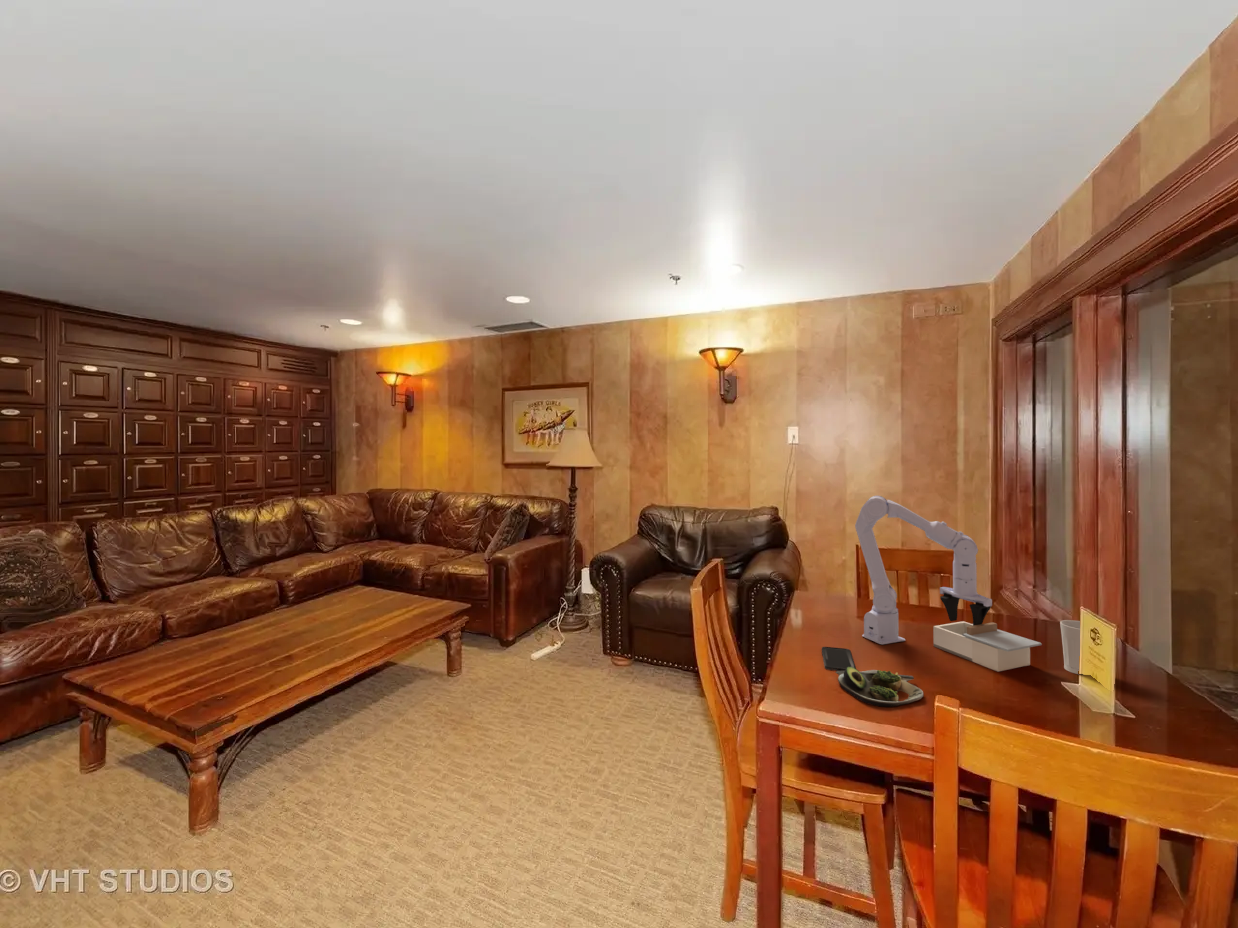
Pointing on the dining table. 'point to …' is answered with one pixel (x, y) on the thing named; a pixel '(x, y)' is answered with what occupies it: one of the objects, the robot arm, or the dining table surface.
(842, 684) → the salad plate
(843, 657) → the phone
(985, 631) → the lid
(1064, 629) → the cup
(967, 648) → the carton
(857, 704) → the dining table surface
